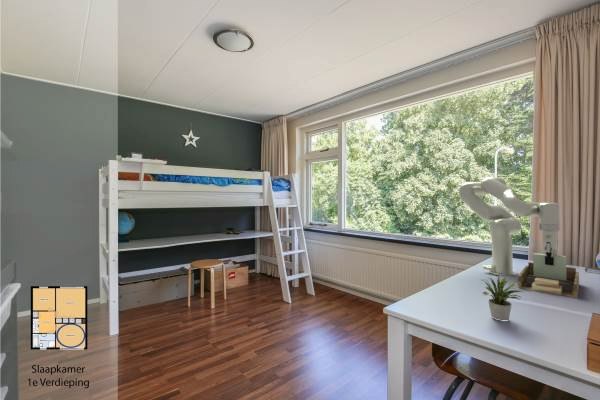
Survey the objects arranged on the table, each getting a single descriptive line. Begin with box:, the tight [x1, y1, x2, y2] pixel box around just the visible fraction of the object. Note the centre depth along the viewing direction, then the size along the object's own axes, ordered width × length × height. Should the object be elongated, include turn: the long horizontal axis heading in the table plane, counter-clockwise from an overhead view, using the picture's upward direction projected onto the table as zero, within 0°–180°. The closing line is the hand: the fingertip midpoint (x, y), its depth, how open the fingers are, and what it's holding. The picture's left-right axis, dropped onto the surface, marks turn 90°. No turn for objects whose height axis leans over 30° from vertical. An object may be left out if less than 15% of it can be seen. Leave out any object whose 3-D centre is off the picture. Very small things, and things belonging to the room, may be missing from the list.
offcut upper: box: [535, 278, 559, 289], centre depth 127 cm, size 4×8×2 cm, turn 44°
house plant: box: [481, 275, 523, 321], centre depth 102 cm, size 14×14×16 cm
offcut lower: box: [532, 282, 562, 296], centre depth 127 cm, size 6×10×2 cm, turn 44°
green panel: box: [532, 252, 567, 280], centre depth 138 cm, size 3×12×14 cm, turn 44°
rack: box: [517, 261, 580, 299], centre depth 134 cm, size 25×20×9 cm
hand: (549, 263), depth 138 cm, fingers open, 4 cm apart
